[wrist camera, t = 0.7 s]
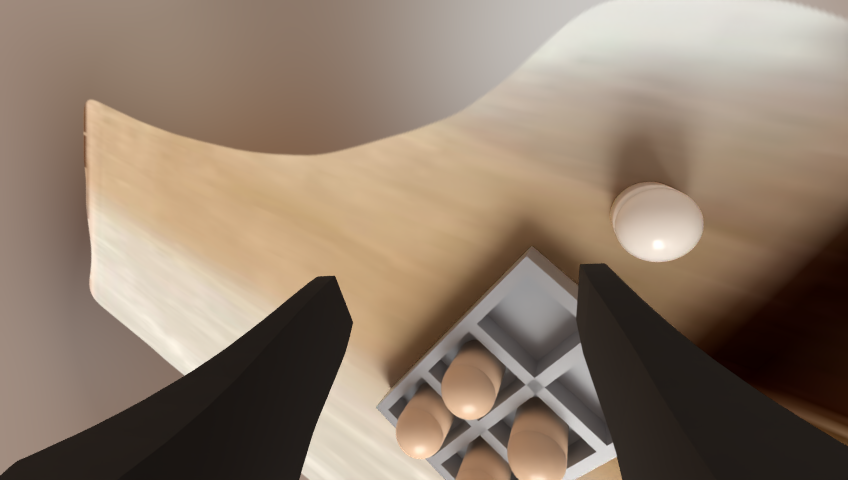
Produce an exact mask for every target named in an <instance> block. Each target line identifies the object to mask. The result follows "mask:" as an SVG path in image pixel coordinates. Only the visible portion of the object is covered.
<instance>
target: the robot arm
mask: <svg viewBox="0 0 848 480" xmlns="http://www.w3.org/2000/svg"><path fill="white" fill-rule="evenodd" d="M576 322H577V327H578V332H579V337H580V341H581V346H582V351H583V355H584V358H585V361H586V364H587V367H588V370H589V373H590V376H591V379H592V382H593V385H594V388H595V390H596V393H597V396H598V399H599V402H600V405H601V408H602V411H603V414H604V417H605V420H606V423H607V426H608V429H609V432H610V434H611V438H612V441H613V445H614V448H615V451H616V455H617V459H618V463H619V467H620V471H621V476H622V480H848V446H846V445H844V444H843V443H841V442H839V441H838V440H836V439H834V438H833V437H831V436H829V435H827V434H826V433H824V432H822V431H821V430H819V429H818V428H816V427H814V426H813V425H811V424H810V423H808V422H806V421H805V420H803V419H802V418H800V417H798V416H797V415H795V414H794V413H792V412H790V411H789V410H787V409H786V408H784V407H782V406H781V405H779V404H778V403H776V402H775V401H773V400H772V399H770V398H768V397H767V396H765V395H764V394H762V393H761V392H759V391H758V390H756V389H755V388H753V387H752V386H751V385H749V384H748V383H746V382H745V381H743V380H742V379H741V378H739V377H738V376H736V375H735V374H733V373H732V372H731V371H729V370H728V369H726V368H725V367H724V366H722V365H721V364H719V363H718V362H717V361H715V360H714V359H713V358H711V357H710V356H709V355H707V354H706V353H705V352H703V351H702V350H701V349H700V348H698V347H697V346H696V345H695V344H693V343H692V342H691V341H690V340H688V339H687V338H686V337H685V336H683V335H682V334H681V333H680V332H679V331H677V330H676V329H675V328H674V327H673V326H671V325H670V324H669V323H668V322H667V321H666V320H665V319H663V318H662V317H661V316H660V315H659V314H658V313H657V312H656V311H654V310H653V309H652V308H651V307H650V306H649V305H648V304H647V303H646V302H645V301H643V300H642V299H641V298H640V297H639V296H638V295H637V294H636V293H635V292H634V291H633V290H632V289H631V288H630V287H629V286H628V285H627V284H626V283H625V282H624V281H623V280H622V279H620V278H619V277H618V276H617V275H616V274H615V273H614V272H613V271H612V270H611V269H610V268H609V267H608V266H607V265H606V264H605V263H601V264H580V271H579V285H578V298H577V312H576ZM352 325H353V321H352V318H351V316H350V313H349V311H348V308H347V306H346V303H345V300H344V298H343V295H342V293H341V290H340V288H339V285H338V283H337V280H336V277H335V276H320V277H316V278H315V279H313V280H312V281H311V282H309V283H308V284H307V285H305V286H304V287H303V288H302V289H300V290H299V291H298V292H297V293H295V294H294V295H293V296H292V297H291V298H289V299H288V300H287V301H286V302H285V303H283V304H282V305H281V306H280V307H278V308H277V309H276V310H275V311H274V312H272V313H271V314H270V315H269V316H267V317H266V318H265V319H264V320H262V321H261V322H260V323H259V324H257V325H256V326H255V327H253V328H252V329H251V330H250V331H248V332H247V333H246V334H244V335H243V336H242V337H240V338H239V339H238V340H236V341H235V342H234V343H232V344H231V345H230V346H228V347H227V348H226V349H224V350H223V351H221V352H220V353H219V354H217V355H216V356H214V357H213V358H211V359H210V360H208V361H207V362H205V363H204V364H202V365H201V366H199V367H198V368H196V369H195V370H193V371H192V372H190V373H188V374H187V375H185V376H184V377H182V378H180V379H179V380H177V381H175V382H174V383H172V384H170V385H168V386H167V387H165V388H163V389H162V390H160V391H158V392H157V393H155V394H153V395H151V396H150V397H148V398H146V399H145V400H143V401H141V402H139V403H137V404H135V405H133V406H132V407H130V408H128V409H126V410H124V411H123V412H120V413H119V414H117V415H115V416H113V417H111V418H109V419H107V420H105V421H103V422H101V423H99V424H97V425H95V426H93V427H91V428H89V429H87V430H85V431H83V432H80V433H78V434H76V435H74V436H72V437H70V438H67V439H65V440H63V441H61V442H59V443H56V444H54V445H52V446H50V447H48V448H46V449H43V450H41V451H39V452H37V453H35V454H33V455H30V456H28V457H26V458H23V459H21V460H19V461H17V462H15V463H14V464H13V465H12V466H11V467H9V468H8V469H7V470H6V471H5V472H4V473H3V474H2V475H0V480H299V478H300V475H301V471H302V467H303V464H304V461H305V458H306V454H307V451H308V448H309V444H310V441H311V438H312V435H313V432H314V429H315V426H316V424H317V421H318V418H319V416H320V414H321V411H322V409H323V406H324V404H325V401H326V399H327V397H328V394H329V392H330V389H331V387H332V384H333V382H334V380H335V377H336V375H337V372H338V370H339V367H340V365H341V362H342V360H343V357H344V355H345V352H346V348H347V345H348V341H349V337H350V333H351V329H352Z"/></svg>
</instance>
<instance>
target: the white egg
mask: <svg viewBox="0 0 848 480" xmlns="http://www.w3.org/2000/svg"><path fill="white" fill-rule="evenodd" d="M610 218H611V223H612V226H613V229H614V231H615V234H616V237H617V239H618V241H619V243H620V244H621V245H622V247H623V248H624V249H625V250H626V251H627V252H628V253H630V254H631V255H633V256H635V257H637V258H639V259H642V260H645V261H650V262H666V261H671V260H674V259H677V258H680V257H682V256H684V255H685V254H687V253H688V252H690V251H691V250H692V249H693V248H694V247H695V246H696V244H697V243H698V241H699V240H700V238H701V236H702V233H703V228H704V220H703V215H702V213H701V210H700V208H699V207H698V205H697V204H696V203H695V201H693V200H692V199H691V198H690V197H689V196H687V195H686V194H684V193H682V192H680V191H678V190H676V189H674V188H671V187H669V186H667V185H665V184H662V183H658V182H641V183H637V184H634V185H632V186H630V187H628V188H626V189H625V190H623V191H622V192H621V193H620V194H619V195H618V196H617V197H616V199H615V200H614V202H613V204H612V207H611V211H610Z"/></svg>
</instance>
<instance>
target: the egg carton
mask: <svg viewBox="0 0 848 480" xmlns="http://www.w3.org/2000/svg"><path fill="white" fill-rule="evenodd" d="M577 298H578V285H577V284H576V283H574V282H573V281H572V280H571V279H570V278H569V277H567V276H566V275H565V274H564V273H563V272H562V271H561V270H559V269H558V268H557V267H556V266H555V265H554V264H552V263H551V262H550V261H549V260H548V259H547V258H545V257H544V256H543V255H542V254H541V253H540V252H539V251H537V250H536V249H535V248H534V247H533V246H531V247H530V248H529V249H528V250H527V251H526V252H525V253H524V254H523V255H522V256H521V257H520V258H519V259H518V260H517V261H516V262H515V263H514V264H513V265H512V266H511V267H510V268H509V269H508V270H507V271H506V272H505V273H504V274H503V275H502V276H501V277H500V278H499V279H498V280H497V281H496V282H495V283H494V284H493V285H492V286H491V287H490V289H489V290H488V291H487V292H486V293H485V294H484V295H483V296H482V297H481V298H480V299H479V300H478V301H477V302H476V303H475V304H474V305H473V306H472V307H471V308H470V309H469V310H468V311H467V312H466V313H465V314H464V315H463V316H462V317H461V318H460V319H459V320H458V321H457V322H456V323H455V324H454V325H453V326H452V327H451V328H450V329H449V330H448V331H447V332H446V333H445V334H444V335H443V336H442V337H441V338H440V339H439V340H438V341H437V342H436V343H435V344H434V345H433V346H432V347H431V348H430V349H429V350H428V351H427V352H426V353H425V354H424V355H423V356H422V357H421V358H420V359H419V360H418V361H417V363H416V364H415V365H414V366H413V367H412V368H411V369H410V370H409V371H408V372H407V373H406V374H405V375H404V376H403V377H402V378H401V379H400V380H399V381H398V382H397V383H396V384H395V385H394V386H393V387H392V388H391V389H390V390H389V391H388V393H387V394H386V395H385V396H384V398H383V399H382V400H381V401H380V403H379V404H378V405H377V407H376V408H377V409H378V410H379V411H380V412H381V413H382V414H383V415H384V416H385V417H386V419H387V420H388V421H389V422H390V423H391V424H392V425H393V426H394V427H395V428H396V438H397V441H398V444H399V446H400V448H401V449H402V450H403V452H404V453H406V454H407V455H408V456H410V457H412V458H415V459H426V460H427V461H428V462H429V463H430V464H431V465H432V466H433V468H434V469H435V470H436V471H437V472H438V473H439V474H440V475H441V476H442V477H443V478H444V479H445V480H575V479H577V478H579V477H580V476H582V475H584V474H586V473H588V472H590V471H591V470H593V469H595V468H597V467H599V466H601V465H602V464H604V463H606V462H608V461H610V460H612V459H613V458H615V457H617V455H616V451H615V448H614V445H613V441H612V438H611V434H610V432H609V429H608V426H607V423H606V420H605V417H604V414H603V411H602V408H601V405H600V402H599V399H598V396H597V393H596V390H595V388H594V385H593V382H592V379H591V376H590V373H589V370H588V367H587V364H586V361H585V358H584V355H583V351H582V346H581V341H580V337H579V332H578V327H577V322H576V312H577Z"/></svg>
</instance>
